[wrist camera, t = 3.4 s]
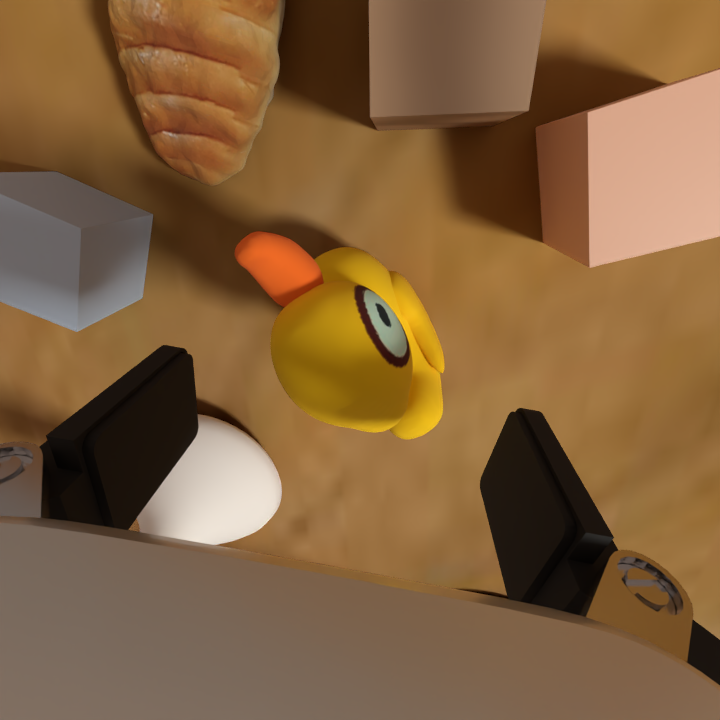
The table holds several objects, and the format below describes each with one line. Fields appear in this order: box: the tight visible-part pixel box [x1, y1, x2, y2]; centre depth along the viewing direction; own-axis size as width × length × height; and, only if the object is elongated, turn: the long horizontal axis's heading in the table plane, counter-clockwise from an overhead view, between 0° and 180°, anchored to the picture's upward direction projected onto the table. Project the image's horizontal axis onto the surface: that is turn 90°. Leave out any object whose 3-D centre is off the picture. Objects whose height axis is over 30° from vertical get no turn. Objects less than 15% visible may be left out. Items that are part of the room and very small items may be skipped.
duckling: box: [235, 231, 444, 439], centre depth 16 cm, size 11×5×10 cm, turn 34°
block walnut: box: [369, 0, 546, 131], centre depth 13 cm, size 5×5×5 cm
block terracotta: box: [535, 68, 720, 268], centre depth 14 cm, size 5×5×5 cm
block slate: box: [0, 171, 153, 332], centre depth 18 cm, size 5×5×5 cm
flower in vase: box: [137, 414, 282, 545], centre depth 16 cm, size 13×11×25 cm
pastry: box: [108, 0, 285, 186], centre depth 14 cm, size 9×7×4 cm
